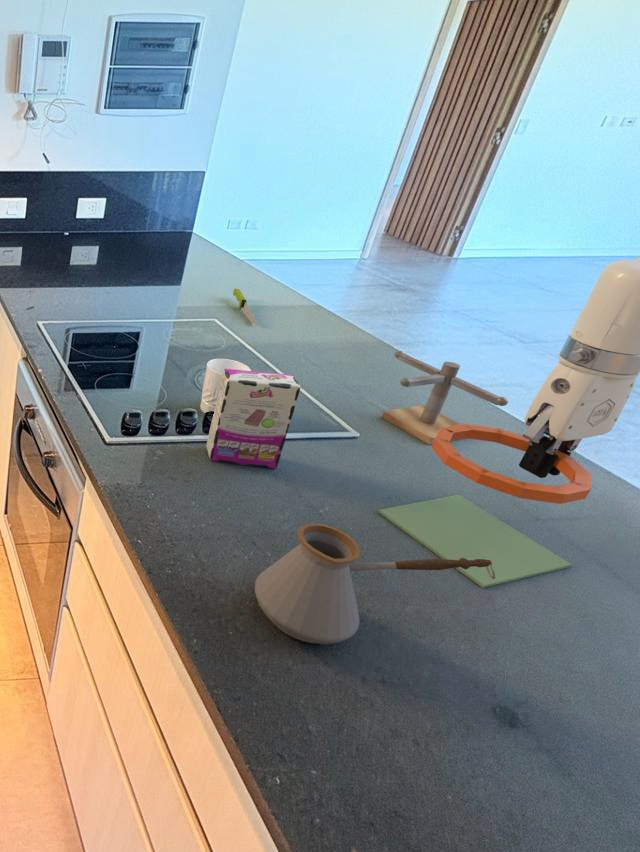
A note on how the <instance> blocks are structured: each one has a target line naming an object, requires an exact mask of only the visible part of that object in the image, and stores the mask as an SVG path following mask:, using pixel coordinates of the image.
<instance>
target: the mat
mask: <svg viewBox="0 0 640 852" xmlns="http://www.w3.org/2000/svg"><path fill="white" fill-rule="evenodd" d="M377 512H378V514H380V515H381V516H382V517H384V518H385V519H387V521H390V523H392V524H393V525H395V526H396V527H398V528H399V529H401V530H402V531H403V532H405V533H406V534H408V535H409V536H410V537H411V538H413V539H414V540H415V541H417V542H418V543H420V544H421V545H423V546H424V547H425V548H427V549H428V550H430V551H431V552H432V553H434V554H435V555H437V557H439V558H440V559H449V560H459V559H461V558H465V559H467V560H475V559H485V560H490V561H491V563H492V568H493V570H494V573H495V579H492V578H491V577H490V575H489V573H488V571H487V569H486V567H477V566H473V567H469V568H468V569H463V568H461V567H458V568H455V570H457V571H458V572H460V573H461V574H463V575H464V576H466V577H467V578H468V579H470V580H471V581H472V582H474V583H475V584H477V585H478V586H479V587H481V588H482V589H484V588H489V587H494V586H496V585H502V584H505V583H510V582H514V581H518V580H522V579H526V578H530V577H535V576H539V575H543V574H546V573H552V572H555V571H556V572H557V571H560V570H564V569H569V568H571V567H572V566H573V564H572V563H570V562H569V561H568V560H566V559H564V558H562V557H560V556H559V555H558V554H555V553H554V552H552V551H551V550H549V549H548V548H546V547H544V546H543V545H541V544H539V543H538V542H536V541H535V540H533V539H531V537H528V536H527V535H525V534H523V533H522V532H520V531H518V530H517V529H515V528H513V527H512V526H510V525H508V524H507V523H505V522H504V521H502V520H500V519H499V518H497V517H496V516H494V515H493V514H491V513H490V512H488V511H486V510H484V509H482V508H481V507H479V506H478V505H476V504H475V503H473V502H471V501H470V500H468V499H467V498H465V497H463V496H462V495H460V494H452V495H449V496H444V497H437V498H433V499H428V500H423V501H418V502H413V503H412V502H411V503H407V504H403V505H398V506H392V507H388V508H382V509H378V511H377ZM488 568H489V571H490V573H491V575H492V576H493V574H492V571H491V568H490V566H488Z"/></svg>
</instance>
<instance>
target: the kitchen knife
mask: <svg viewBox="0 0 640 852" xmlns="http://www.w3.org/2000/svg"><path fill="white" fill-rule="evenodd" d="M232 291H233V292H232V295H233V296H235V299H236V301H237V302H238V309H241V310H242V312H243V313H244V314H245V315H246V317H247V319H248V320H249V321H250V322H251V323H252V324H254V325H257V324H258V323H259V322H258V319H256V317H255V315H254V314H253V312H252V311H251V308H250V307H249V306H248V304H247V299H246V297H245V296H244V295H243V294H244V293H242V290H240V288H234V289H233V290H232Z"/></svg>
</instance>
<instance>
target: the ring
mask: <svg viewBox="0 0 640 852" xmlns="http://www.w3.org/2000/svg"><path fill="white" fill-rule="evenodd" d="M467 439H469V440H477V441H483V442H484V441H485V442H490V443H496V444H501V445H503V446H506V447H510V448H513V449H516V450H519V451H522V452H524V453H525V452H526V450H527V448H528V447H529V445H530V444H528V443H529V440H528V439H526V438H524V437H523V434H522V435H521V434H518V433H515V432H512V431H509V430H505V429H502V428H498V427H491V426H484V425H477V424H476V425H474V424H468V423H459V425H453V426H447V427H441V428H440V430H439V432H438V434H437V436H436V438H435V440H434V442H433V444H431V450H432V451H433V452H434V453H435V454H436V455H437V457H438V458H439V459H440V460H441V462H442V463H443V464H444V465H445V466H447V467H449V468H450V469H452V470H453V471H455V472H457V473H459V474H461V475H462V476H463V477H466V478H467V479H469V480H471V481H473V482H474V483H476V484H478V485H481V486H484V487H487V488H490V489H493V490H495V491H497V492H501V493H503V494H506V495H510V496H512V497H515V498H519V499H524V500H530V501H536V502H544V503H550V504H556V505H557V504H558V505H561V504H566V503H573V502H577V501H582V500H585V499H586V498H587V497H588V495H589V493H590V492H591V490H592V482H593V474H592V473H590V472H589V471H588V470H587V469H586V468H584V466H582V465H581V464H580V463H579V462H578V461H577V460H576V459H574V458H573V457H572V456H571V455H570V456H568V455H566V454H564V453H562V452H560V451H558V450H557V452H556V453H555V454H557V455H558V457H557V459H556V461H555V462H554V464H553V465H554V466H555V467H556V468H557V469H558V470H559V471H560V473H561V474H562V475H563V476H564V477H565V478H566V479H568V480H569V483H565V484H559V485H547V484H540V483H534V482H527V481H521V480H517V479H515V478H512V477H509V476H506V475H503V474H500V473H497V472H494V471H492V470H488V469H486V468H484V467H482V466H481V465H479V464H477V463H475V462H473V461H472V460H470V459H468V458H467V457H464V456H463V455H461V454H460V452H459V451H458V450H457V449H456V448H455V446H454V445H453V444H452V443H451V442H455V441H463V440H467Z"/></svg>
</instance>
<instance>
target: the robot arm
mask: <svg viewBox="0 0 640 852" xmlns="http://www.w3.org/2000/svg"><path fill="white" fill-rule="evenodd" d="M557 359H558V360H559V361H558V362H557V363H556V365H555V366H554V367H553V369H552V370H551V372H550V373H549V375H548V376H547V378H546V379H545V380H544V382H543V384H542V386H540V389H539V390H538V391H537V394H536V395H535V397H534V399H533V400H532V402H531V404H530V406H529V408H528V410H527V412H526V415H525V417H524V423H525V425H526V426H528V427H527V428H526V430H524V432H523V434H522V436H523V437H524V438H526V439H528V440H529V443H528V444H530V445H529V447H528V448H527V450H526V452H525V451H524V454H523V456H522V458H521V459H520V461H519V464H518V466H519V468H521V469H522V470H524V471H526V472H528V473H530V474H532V475H534V476H536V477H537V478H540V479H544V478H547V477H548V475H549V474H550V475H551V476H559V475H560V473H561V472H560V471H559V470H558V469H557V468H556V467H555V466H554V465H553V464H554V462H555V461H556V459H557V457H558V455H557V454H555V453H556V452H557V450H558V451H560V452H562V453H564V454H566V455H568V456H570V457H571V454H572V452H574V451H575V450H576V449H577V448H578V446H579V445H580V443H581V442H582V439H587V438H592V437H597V436H598V437H599V436H603V435H605V434H608V433H609V432H611V431H612V430H613V428H614V426H615V424H617V421H618V420H619V417H620V416H621V413H622V411H623V410H624V408H625V406H626V404H627V402H628V399H629V398H630V395H631V393H632V391H633V389H634V387H635V383H636V381H637V378H638V376H639V375H640V256H639V257H638V258H636V259H620V260H615V261H613V262H610V263H609V264H607V266H606V267H604V268H603V270H602V271H601V273H600V275H599V277H598V279H597V281H596V283H595V285H594V286H593V288H592V290H591V291H590V294H589V296H588V297H587V300H586V302H585V304H584V306H583V308H582V309H581V311H580V313H579V315H578V317H577V319H576V321H575V323H574V324H573V327H572V328H571V330H570V332H569V335H568V336H567V339H566V340H565V342H564V344H563V345H562V348H561V350H560V352H559V353H558V355H557Z"/></svg>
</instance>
